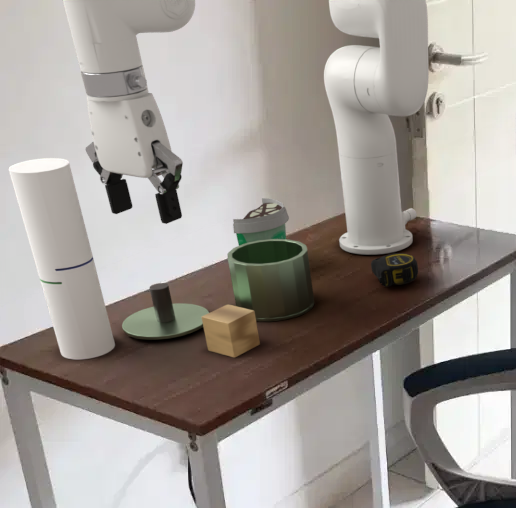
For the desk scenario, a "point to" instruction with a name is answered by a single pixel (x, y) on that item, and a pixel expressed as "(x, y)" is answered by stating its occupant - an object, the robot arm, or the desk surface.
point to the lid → (164, 317)
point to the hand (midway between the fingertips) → (147, 215)
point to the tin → (272, 278)
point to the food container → (262, 223)
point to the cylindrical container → (63, 256)
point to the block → (231, 330)
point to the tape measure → (395, 269)
